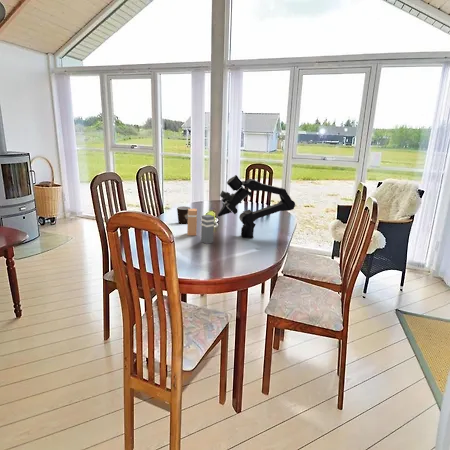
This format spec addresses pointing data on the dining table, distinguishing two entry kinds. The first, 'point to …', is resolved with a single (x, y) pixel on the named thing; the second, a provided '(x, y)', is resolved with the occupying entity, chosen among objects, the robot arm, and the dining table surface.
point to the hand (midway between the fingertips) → (218, 215)
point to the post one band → (192, 222)
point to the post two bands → (207, 229)
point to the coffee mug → (183, 214)
